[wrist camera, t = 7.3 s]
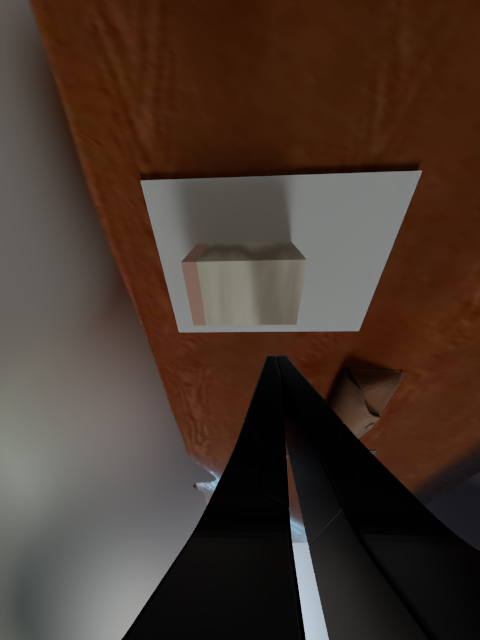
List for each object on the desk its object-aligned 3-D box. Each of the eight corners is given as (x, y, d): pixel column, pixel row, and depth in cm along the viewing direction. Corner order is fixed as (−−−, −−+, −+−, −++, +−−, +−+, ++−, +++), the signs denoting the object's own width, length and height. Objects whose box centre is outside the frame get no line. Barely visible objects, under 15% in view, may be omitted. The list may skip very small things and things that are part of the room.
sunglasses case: (359, 437, 35) (355, 475, 30) (319, 416, 38) (309, 448, 33) (407, 367, 25) (412, 409, 20) (347, 348, 28) (339, 379, 23)
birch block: (306, 259, 12) (180, 262, 12) (296, 324, 15) (193, 325, 15) (291, 241, 16) (196, 244, 17) (285, 295, 19) (204, 296, 19)
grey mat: (418, 171, 14) (422, 170, 13) (357, 328, 22) (358, 331, 21) (142, 180, 15) (140, 180, 14) (180, 330, 22) (179, 332, 22)
